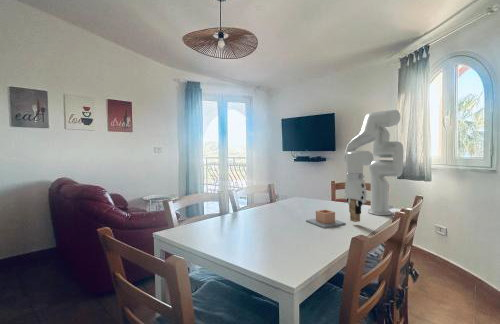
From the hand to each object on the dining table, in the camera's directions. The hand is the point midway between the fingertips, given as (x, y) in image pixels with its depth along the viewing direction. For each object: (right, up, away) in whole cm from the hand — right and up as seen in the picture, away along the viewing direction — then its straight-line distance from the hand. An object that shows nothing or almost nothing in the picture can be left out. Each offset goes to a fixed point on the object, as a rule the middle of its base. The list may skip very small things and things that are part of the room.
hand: (355, 212), depth 132 cm
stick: (0, -4, 0) cm, 4 cm away
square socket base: (-14, -6, +5) cm, 16 cm away
